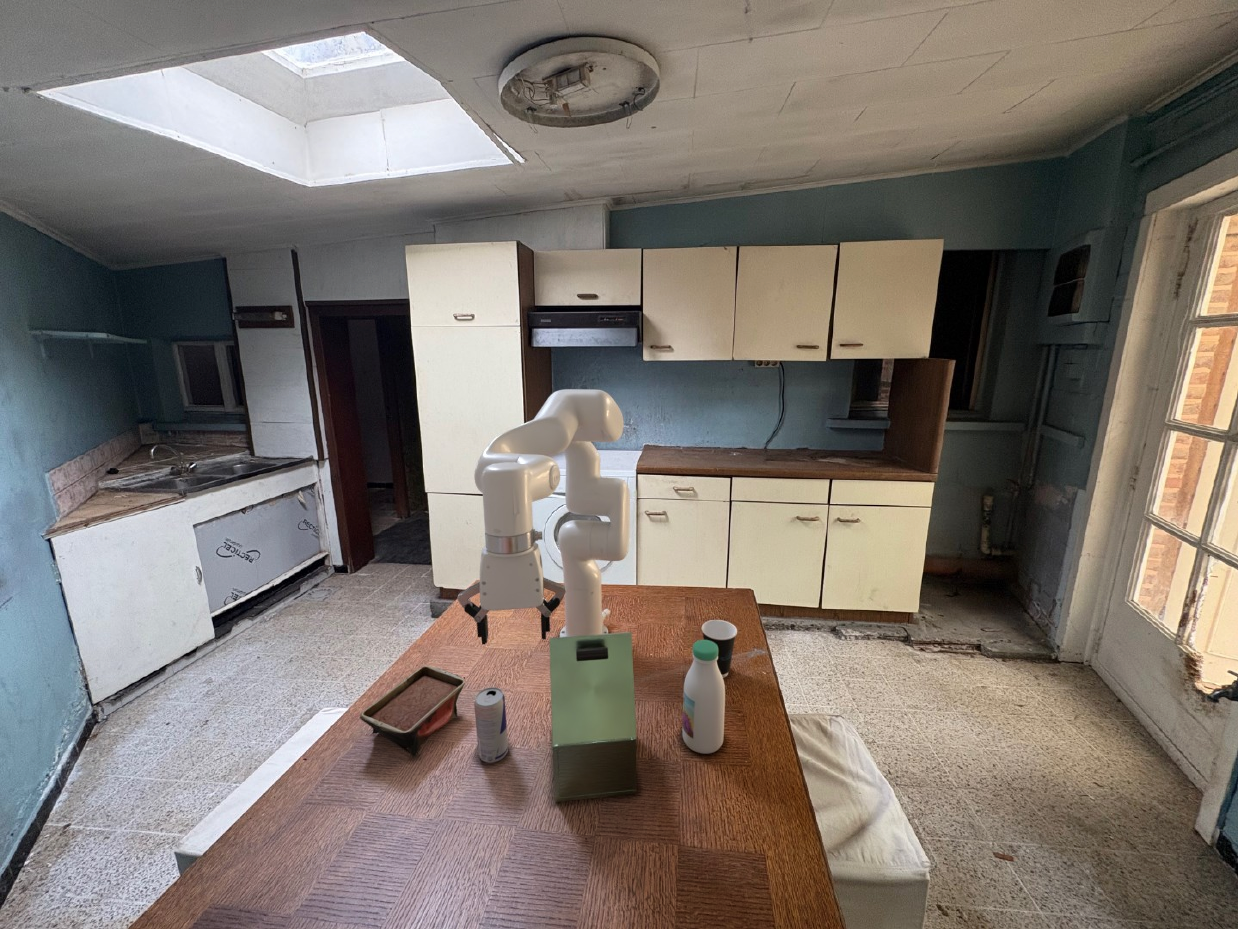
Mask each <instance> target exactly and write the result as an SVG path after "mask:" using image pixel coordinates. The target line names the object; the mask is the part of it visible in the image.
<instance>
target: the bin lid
mask: <svg viewBox="0 0 1238 929" xmlns="http://www.w3.org/2000/svg"><path fill="white" fill-rule="evenodd" d="M632 638H633V636H632V632H631V631H628V632H615V633H608V634H597V635H583V636H569V637H560V636H556V637H549V640H548V644H549V678H550V711H551V712H550V713H551V744H552V746H553V745H561V744H572V743H583V742H594V741H605V740H615V739H626V738H636V739H637V737H638V735H637V714H636V696H635V678H634V659H633V640H632Z"/></svg>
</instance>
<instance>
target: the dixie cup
mask: <svg viewBox="0 0 1238 929" xmlns="http://www.w3.org/2000/svg"><path fill="white" fill-rule="evenodd" d="M701 632H702V637H703V639H702V640H709V641H712V642H714V643H715V644H716V645H717V646H718V659H717V665H718V668H719V671H720V673H721V675H722V677H723V679H724V678H727V676H728V675H729V672H730V670H731V665H732V658H733V652H734V647H735V641H736V636H737V634H738V628H737V627H736V626H735V625H734V624H733V623H731V622H729V621H726V620H722V619H710V620H707V621H705V622H704V623H703V624H702V625H701Z"/></svg>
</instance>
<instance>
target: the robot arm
mask: <svg viewBox="0 0 1238 929" xmlns="http://www.w3.org/2000/svg"><path fill="white" fill-rule="evenodd" d="M624 423H625V422H624V415H623V413H622V411H621V408H620V407H619V405H618V403H617V402H616V401H615V399H614V398H613V397H612V396H611V395H610V393H608V392H606V391H604V390H602V389H592V388H591V389H587V388H586V389H585V388H584V389H583V388H582V389H581V388H579V389H578V388H577V389H576V388H575V389H574V388H573V389H572V388H570V389H569V388H567V389H559V390H556V391H554V392H552V393H551V394H550V395H549V396H548V397H547V399H546V401H545V402H544V403H543V405H542V406H541V408H540V409H539V411H538V412H537V413H536V415H535V417H534V418H533V419H532V420H529V421H527V422H525V423H522V424H520V425H518V426H516V427H512V428H511V429H508V430H507V431H504V432H502V433H501V434H499V435H497V436H496V437H495V438H493V439H492V440H491V441H490V443H489V444H488V445H487V447H486V448H485V449H484V451H483V452H482V453H481V455H480V456H479V458H478V460H477V463H476V465H475V469H474V483H475V486H476V488H477V489H478V491H479V492H480V493H482V504H483V505H482V506H483V522H484V540H485V546H482V548H481V553H480V563H479V581H478V582H476V583H474V584H473V585H471V586H469V587H467V588H466V589H464V590H462V591H460V592H459V593H458V595H457V601H458V602H459V604H460V606H461V607H462V608H463V610H464V612H465V613H466V614H467V615H469V616H470V618H473V621H474V622H475V623H476V632H477V634H476V635H477V638H481V645H486V644H487V643H488V639H489V621H488V620H489V619H488V613H489V612H490V611H491V612H495V611H497V612H498V611H511V610H525V609H534V608H536V610H538V611H539V612H540V630H541V631H540V633H541V640H547V633H550V632H551V619H550V617H551V616H552V613H553V612H554V611H555V610H556V609H557V608H558V607H559V606H560V605H561V602H562V600H564V602H563V603H564V626H563V627H562V628H561V630H560V632H559V637H569V636H583V635H597V634H609V629H608V627H607V626H606V625H605V624H604V621H605V620H606V619H607V618H608V617H609V616H610V615H611V610H610V609H608V608H605V609H603V604H602V603H603V600H602V599H603V598H602V596H603V595H602V594H603V593H602V572H601V569H600V567H599V565H598V563H597V562H596V561H605V562H606V561H607V562H621V561H623V560H624V559H626V558H627V555H628V552H629V549H630V548H629V547H630V520H631V519H630V518H631V517H630V516H631V515H630V514H631V513H630V512H631V495H630V489H629V485H628V484H627V482H626V481H625V480H624V479H622V478H619V477H608V476H607V477H605V476H603V477H602V476H601V455H600V453H599V451H598V450H597V448H596V447H595V445H594V444H593V443H614V442H617V441H618V440H619V439H620V438H621V437H622V435H623V431H624V427H625V426H624V425H625V424H624ZM561 453H564V457H565V491H564V492H565V496H564V498H565V506H566V509H567V511H568V512H569V513H571V514H574V515H580V516H596V517H606V518H608V519H609V521H605V520H603V521H602V520H587V519H574V520H568V521H566V522H564V523H563V524H562V525H561V526H560V528H559V530H558V532H557V533H558V534H557V543H558V548H559V552H560V557H561V562H562V573H563V584H562V583H559V582H556V581H554V580H551V579H549V578H546V577H544V568H543V560H542V555H541V550H540V546H539V544H538V543H537V541H542V540H543V531H539V530H536V529H534V520H533V519H534V517H533V516H534V514H533V502H537V501H540V500H544V499H546V498H548V497H550V496H551V495H552V494H554V492H555V491H556V490H557V488H558V486H559V485H560V481H561V470H560V467H559V465H558V463H557V462H556V460H555V459H554V458H552V457H553V456H556V455H559V454H561ZM545 590H548V591H550V592H553V593H554V595H553V597H551V599H550V600H547V599H546V598H545V597H544V595H545ZM477 594H479V603H480V605H477V604H475V603H474V602H473V601H471V598H473V597H474V596H476V595H477Z"/></svg>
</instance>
